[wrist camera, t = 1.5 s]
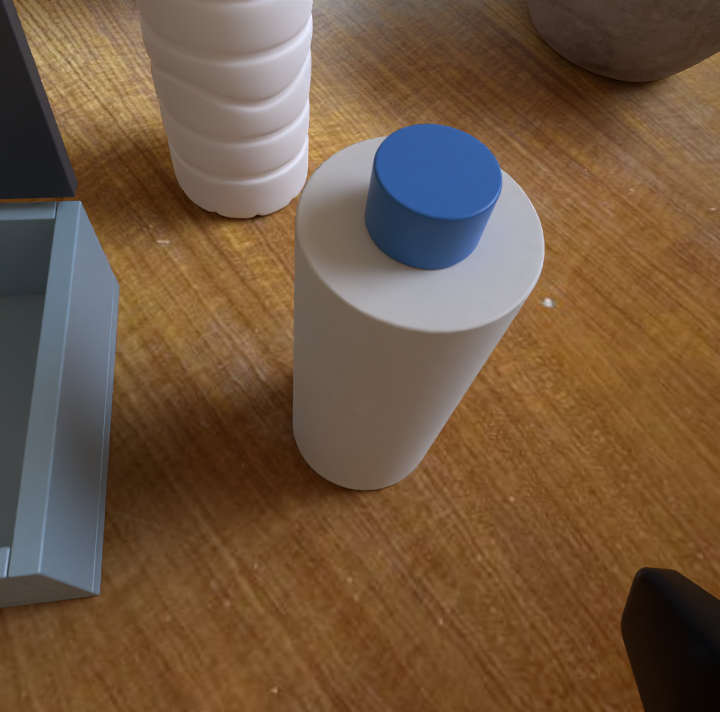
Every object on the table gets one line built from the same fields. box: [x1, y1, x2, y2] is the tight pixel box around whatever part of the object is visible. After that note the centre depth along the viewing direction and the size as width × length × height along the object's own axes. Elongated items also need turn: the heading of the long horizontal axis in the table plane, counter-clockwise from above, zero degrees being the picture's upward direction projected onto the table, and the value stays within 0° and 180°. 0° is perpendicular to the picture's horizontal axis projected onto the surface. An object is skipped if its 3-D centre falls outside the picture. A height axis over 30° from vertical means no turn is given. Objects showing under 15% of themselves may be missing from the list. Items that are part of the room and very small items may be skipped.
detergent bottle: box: [293, 124, 544, 490], centre depth 17 cm, size 6×6×14 cm
